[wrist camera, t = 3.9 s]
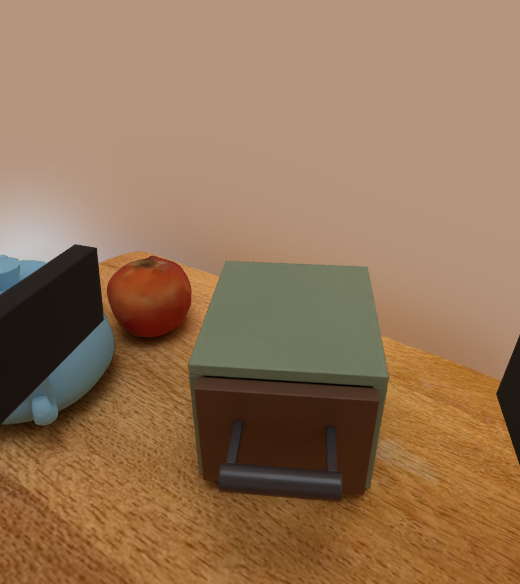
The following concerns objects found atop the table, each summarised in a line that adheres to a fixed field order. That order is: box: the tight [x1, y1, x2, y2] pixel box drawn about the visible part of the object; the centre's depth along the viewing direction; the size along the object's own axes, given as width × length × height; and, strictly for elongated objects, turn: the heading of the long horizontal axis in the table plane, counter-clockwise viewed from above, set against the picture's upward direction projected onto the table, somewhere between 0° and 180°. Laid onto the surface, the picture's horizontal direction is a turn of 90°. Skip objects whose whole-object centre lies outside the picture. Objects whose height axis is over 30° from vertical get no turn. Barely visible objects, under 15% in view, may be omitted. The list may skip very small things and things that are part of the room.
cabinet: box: [188, 261, 389, 488], centre depth 39 cm, size 15×13×11 cm
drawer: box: [194, 376, 379, 502], centre depth 36 cm, size 19×12×9 cm, turn 174°
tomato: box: [107, 256, 191, 338], centre depth 52 cm, size 9×9×8 cm
